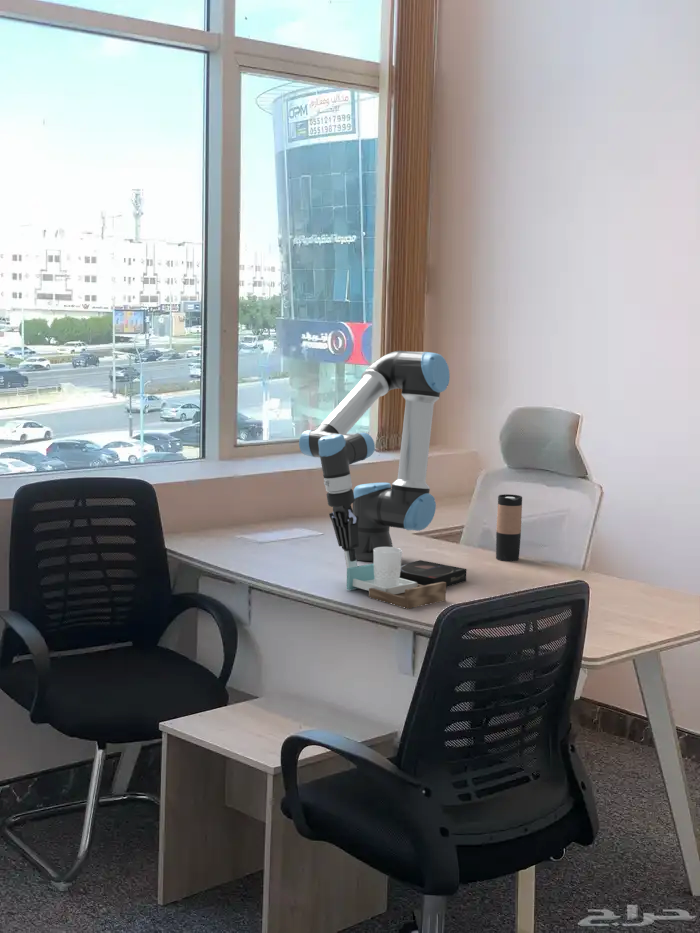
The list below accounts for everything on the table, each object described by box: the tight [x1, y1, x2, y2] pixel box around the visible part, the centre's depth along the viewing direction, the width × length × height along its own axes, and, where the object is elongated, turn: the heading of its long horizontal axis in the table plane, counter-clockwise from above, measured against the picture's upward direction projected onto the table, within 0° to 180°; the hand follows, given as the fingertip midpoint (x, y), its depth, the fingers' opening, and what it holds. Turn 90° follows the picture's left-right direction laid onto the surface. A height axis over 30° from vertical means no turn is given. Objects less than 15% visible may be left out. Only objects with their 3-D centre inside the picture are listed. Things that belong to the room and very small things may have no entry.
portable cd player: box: [399, 559, 467, 588], centre depth 335 cm, size 16×17×4 cm
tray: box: [345, 562, 418, 594], centre depth 321 cm, size 14×15×6 cm
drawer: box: [368, 582, 447, 610], centre depth 314 cm, size 14×15×5 cm
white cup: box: [373, 546, 403, 588], centre depth 319 cm, size 8×8×10 cm
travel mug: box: [495, 493, 523, 562], centre depth 366 cm, size 8×8×20 cm
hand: (352, 571), depth 328 cm, fingers closed
